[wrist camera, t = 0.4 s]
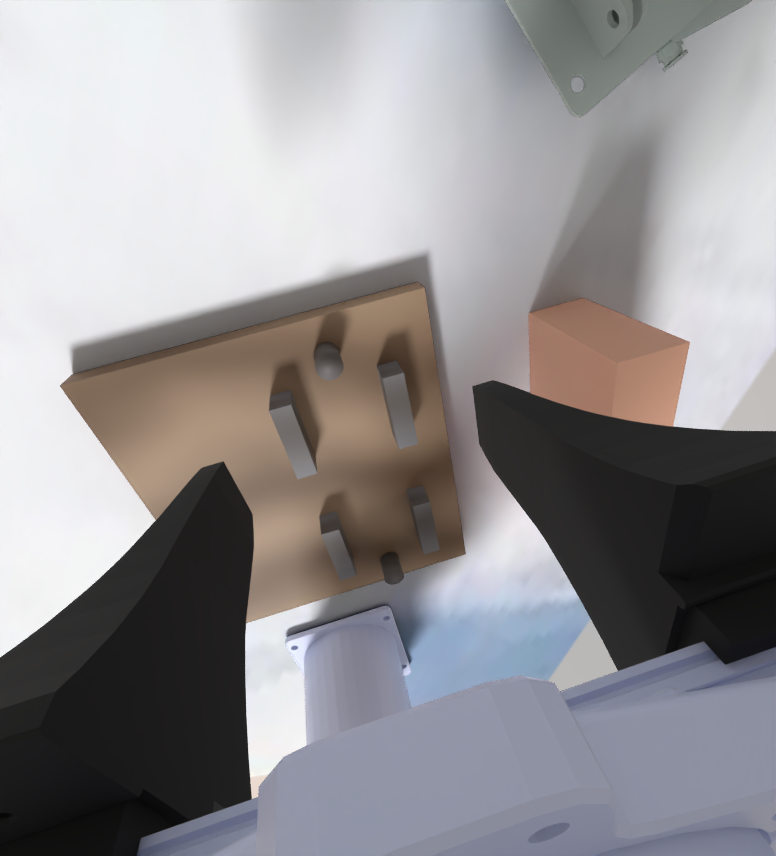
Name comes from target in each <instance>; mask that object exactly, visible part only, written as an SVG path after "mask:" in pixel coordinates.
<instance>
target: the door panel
mask: <svg viewBox="0 0 776 856" xmlns="http://www.w3.org/2000/svg"><path fill="white" fill-rule="evenodd" d="M689 344H690V342H688V341H686V340H683V339H681V338H679V337H676V336H674V335H671V334H669V333H667V332H664V331H662V330H659V329H657V328H654V327H652V326H650V325H647V324H645V323H642V322H640V321H637V320H635V319H633V318H630V317H628V316H625V315H623V314H621V313H618V312H616V311H613V310H611V309H608V308H606V307H604V306H601V305H599V304H596V303H594V302H591V301H589V300H587V299H584V298H581V299H577V300H573V301H570V302H566V303H563V304H559V305H556V306H552V307H548V308H545V309H541V310H538V311H534V312H530V313H529V352H530V393H531V394H534V395H537V396H540V397H542V398H545V399H548V400H551V401H554V402H557V403H560V404H564V405H567V406H570V407H574V408H577V409H581V410H584V411H588V412H592V413H596V414H600V415H605V416H610V417H614V418H619V419H624V420H629V421H635V422H641V423H649V424H656V425H664V426H671V427H673V423H674V418H675V413H676V408H677V403H678V398H679V393H680V389H681V384H682V379H683V374H684V369H685V364H686V359H687V354H688V349H689Z"/></svg>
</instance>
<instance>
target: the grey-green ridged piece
mask: <svg viewBox="0 0 776 856" xmlns="http://www.w3.org/2000/svg"><path fill="white" fill-rule="evenodd" d="M751 1H752V0H505V2H506V3H507V5H508V7H509V9H510V10H511V12H512V14H513V15H514V17H515V19H516V21H517V22H518V24H519V26H520V27H521V29H522V31H523V33H524V34H525V36H526V38H527V39H528V41H529V43H530V45H531V46H532V48H533V50H534V52H535V53H536V55H537V57H538V58H539V60H540V62H541V64H542V65H543V67H544V69H545V70H546V72H547V74H548V76H549V77H550V79H551V81H552V83H553V84H554V86H555V88H556V89H557V91H558V93H559V95H560V96H561V98H562V100H563V101H564V103H565V105H566V107H567V108H568V110H569V112H570V113H571V114H572V115H573V116H574V117H581V116H583V115H585V114H586V113H587V112H588V111H590V110H591V109H592V108H593V107H594V106H595V105H596V104H597V103H599V102H600V101H601V100H602V99H603V98H604V97H605V96H606V95H608V94H609V93H610V92H611V91H612V90H613V89H614V88H616V87H617V86H618V85H619V84H620V83H621V82H622V81H623V80H625V79H626V78H627V77H628V76H629V75H630V74H631V73H633V72H634V71H635V70H636V69H637V68H638V67H639V66H640V65H642V64H643V63H644V62H645V61H646V60H647V59H648V58H649V57H651V56H652V55H653V54H654V53H655V52H656V51H657V52H658V53H657V54H656V57H657V59H658V61H659V63H661V62H663V64H664V66H666V65H667V64H668V65H667V66H666V67H665V68H664V69H663V71H664V72H665V71H666V70H667V69H669V68H670V67H671V66H673V65H674V64H675V63H676V62H677V61H679V60H680V59H681V58H682V57H683V56H684V55H685V54H686V53H688V52H687V50H685V51H684V52H683V49H682V47H681V45H682V44H683V41H682V39H683V38H685V37H687V36H689V35H691V34H693V33H695V32H696V31H698V30H700V29H702V28H704V27H706V26H708V25H709V24H711V23H713V22H715V21H717V20H719V19H721V18H722V17H724V16H726V15H728V14H730V13H732V12H734V11H735V10H737V9H739V8H741V7H743V6H745V5H747V4H748V3H749V2H751ZM681 52H682V53H681ZM680 53H681V54H680ZM574 77H580V78H581V79H582V80H583V83H584V87H583V90H582V91H581V92H580V93H575V92H574V91H573V90H572V89H571V85H570V84H571V80H572V78H574Z"/></svg>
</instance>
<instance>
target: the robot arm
mask: <svg viewBox="0 0 776 856" xmlns="http://www.w3.org/2000/svg"><path fill="white" fill-rule="evenodd" d="M473 395H474V403H475V411H476V419H477V428H478V436H479V444H480V446H481V448H482V450H483V452H484V454H485V455H486V457H487V459H488V461H489V463H490V464H491V466H492V468H493V470H494V471H495V473H496V474H497V475H498V477H499V478H500V479H501V481H502V482H503V483H504V485H505V486H506V487H507V489H508V490H509V491H510V493H511V494H512V495H513V497H514V498H515V499H516V501H517V502H518V503H519V504H520V506H521V507H522V508H523V510H524V511H525V512H526V514H527V515H528V516H529V518H530V519H531V520H532V522H533V523H534V524H535V526H536V527H537V528H538V530H539V531H540V533H541V534H542V536H543V537H544V538H545V540H546V542H547V543H548V545H549V547H550V548H551V550H552V552H553V553H554V555H555V557H556V558H557V560H558V562H559V563H560V565H561V567H562V568H563V570H564V572H565V574H566V575H567V577H568V579H569V581H570V582H571V584H572V586H573V588H574V589H575V591H576V593H577V595H578V596H579V598H580V600H581V602H582V603H583V605H584V607H585V609H586V611H587V613H588V614H589V616H590V618H591V620H592V622H593V624H594V625H595V627H596V629H597V631H598V633H599V635H600V637H601V638H602V640H603V642H604V644H605V646H606V648H607V650H608V652H609V654H610V656H611V658H612V660H613V662H614V664H615V666H616V668H617V670H618V671H617V672H614V673H611V674H608V675H606V676H603V677H600V678H597V679H594V680H591V681H588V682H586V683H583V684H580V685H577V686H574V687H571V688H568V689H566V690H563V691H559V690H558V688H557V686H556V685H555V684H554V683H552V682H549V681H546V680H542V679H537V678H531V677H525V676H515V677H510V678H505V679H500V680H495V681H490V682H485V683H483V684H480V685H477V686H474V687H471V688H468V689H465V690H462V691H459V692H456V693H454V694H451V695H448V696H445V697H442V698H439V699H436V700H433V701H430V702H427V703H425V704H422V705H419V706H416V707H413V708H411V704H410V700H409V695H408V691H407V687H406V683H405V678H404V676H406V675H409V674H410V673H411V667H410V664H409V661H408V658H407V655H406V652H405V649H404V646H403V643H402V640H401V637H400V635H399V632H398V629H397V626H396V623H395V620H394V617H393V614H392V611H391V608H390V607H389V606H382V607H379V608H375V609H372V610H369V611H366V612H363V613H360V614H357V615H354V616H350V617H347V618H344V619H341V620H338V621H335V622H332V623H328V624H325V625H322V626H319V627H316V628H313V629H310V630H306V631H303V632H300V633H297V634H294V635H291V636H288V637H287V638H286V640H285V645H286V647H287V649H288V650H289V652H290V654H291V655H292V657H293V659H294V660H295V662H296V663H297V665H298V667H299V668H300V670H301V671H302V673H303V675H304V685H305V712H306V740H307V746H305V747H303V748H301V749H299V750H297V751H295V752H293V753H291V754H289V755H287V756H285V757H283V759H282V760H281V761H280V762H279V763H278V764H277V766H276V767H275V768H274V769H273V770H272V771H271V773H270V774H269V775H268V776H267V777H266V779H265V780H264V781H263V782H262V783H261V785H260V786H259V794H258V795H259V796H258V797H257V798H254V799H252V797H251V784H250V772H249V758H248V739H247V720H246V688H245V631H246V617H247V608H248V599H249V590H250V581H251V572H252V562H253V552H254V528H253V514H252V512H251V510H250V508H249V507H248V505H247V503H246V501H245V499H244V498H243V496H242V494H241V492H240V490H239V488H238V487H237V485H236V483H235V481H234V479H233V478H232V476H231V474H230V472H229V470H228V468H227V467H226V465H225V463H224V461H222V462H219V463H216V464H212V465H209V466H206V467H202V468H201V469H200V470H199V471H198V472H197V473H196V474H195V475H194V476H193V477H192V478H191V480H190V481H189V482H188V483H187V484H186V485H185V487H184V488H183V489H182V490H181V491H180V493H179V494H178V495H177V496H176V497H175V499H174V500H173V501H172V502H171V503H170V504H169V506H168V507H167V508H166V509H165V510H164V512H163V513H162V514H161V515H160V516H159V518H158V519H157V520H156V521H155V522H154V523H153V524H152V525H151V526H150V528H149V529H148V530H147V531H146V532H145V533H144V534H143V535H142V536H141V537H140V538H139V540H138V541H137V542H136V543H135V544H134V545H133V546H132V547H131V548H130V549H129V550H128V551H127V552H126V554H125V555H124V556H123V557H122V558H121V559H120V560H119V561H118V562H116V563H115V564H114V565H113V566H112V567H111V568H110V569H109V570H108V571H107V572H106V573H105V574H104V575H103V576H102V577H101V578H100V579H98V580H97V581H96V582H95V583H94V584H93V585H92V586H91V587H90V588H89V589H87V590H86V591H85V592H84V593H83V594H81V595H80V596H79V597H78V598H77V599H75V600H74V601H73V602H72V603H71V604H69V605H68V606H67V607H66V608H65V609H63V610H62V611H61V612H60V613H58V614H57V615H56V616H55V617H54V618H52V619H51V620H50V621H49V622H48V623H46V624H45V625H44V626H42V627H41V628H40V629H38V630H37V631H36V632H34V633H33V634H32V635H30V636H29V637H28V638H27V639H25V640H24V641H23V642H21V643H20V644H18V645H17V646H16V647H14V648H13V649H11V650H10V651H9V652H7V653H6V654H5V655H3V656H2V657H0V856H776V431H724V430H707V429H692V428H682V427H671V426H664V425H656V424H649V423H641V422H635V421H629V420H624V419H619V418H614V417H610V416H605V415H600V414H596V413H592V412H588V411H584V410H581V409H577V408H574V407H570V406H567V405H564V404H560V403H557V402H554V401H551V400H548V399H545V398H542V397H540V396H537V395H534V394H531V393H528V392H526V391H523V390H520V389H518V388H515V387H512V386H509V385H507V384H504V383H501V382H497V381H494V380H492V381H489V382H486V383H482V384H479V385H476V386H473Z"/></svg>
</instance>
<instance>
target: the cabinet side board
mask: <svg viewBox="0 0 776 856" xmlns="http://www.w3.org/2000/svg"><path fill="white" fill-rule="evenodd" d="M60 387H61V388H62V389H63V391H64V392H65V394H66V395H67V396H68V398H69V399H70V401H71V402H72V403H73V405H74V406H75V408H76V409H77V410H78V412H79V413H80V415H81V416H82V417H83V419H84V420H85V422H86V423H87V424H88V426H89V427H90V429H91V430H92V431H93V433H94V434H95V436H96V437H97V438H98V440H99V441H100V443H101V444H102V445H103V447H104V448H105V450H106V451H107V452H108V454H109V455H110V457H111V458H112V459H113V461H114V462H115V464H116V465H117V466H118V468H119V469H120V471H121V472H122V473H123V475H124V476H125V478H126V479H127V480H128V482H129V483H130V485H131V486H132V487H133V489H134V490H135V492H136V493H137V494H138V496H139V497H140V499H141V500H142V501H143V503H144V504H145V506H146V507H147V508H148V510H149V511H150V513H151V514H152V515H153V517H154V518H155V520H157V519H158V518H159V516H160V515H161V514H162V513H163V512H164V510H165V509H166V508H167V507H168V506H169V504H170V503H171V502H172V501H173V500H174V499H175V497H176V496H177V495H178V494H179V493H180V491H181V490H182V489H183V488H184V487H185V485H186V484H187V483H188V482H189V481H190V480H191V478H192V477H193V476H194V475H195V474H196V473H197V472H198V471H199V470H200V469H201V468H202V467H206V466H209V465H212V464H216V463H219V462H222V461H224V463H225V465H226V467H227V468H228V470H229V472H230V474H231V476H232V478H233V479H234V481H235V483H236V485H237V487H238V488H239V490H240V492H241V494H242V496H243V498H244V499H245V501H246V503H247V505H248V507H249V508H250V510H251V512H252V514H253V528H254V552H253V562H252V572H251V581H250V590H249V599H248V608H247V617H246V623H248V622H252V621H255V620H258V619H261V618H264V617H267V616H271V615H274V614H277V613H280V612H283V611H286V610H290V609H293V608H296V607H299V606H302V605H306V604H309V603H312V602H315V601H318V600H321V599H325V598H328V597H331V596H334V595H337V594H340V593H344V592H347V591H350V590H353V589H356V588H360V587H363V586H366V585H369V584H372V583H375V582H379V581H382V580H385V582H386V583H388V584H397V583H399V582H400V581H402V579H403V578H404V573H407V572H410V571H414V570H417V569H420V568H423V567H426V566H429V565H433V564H436V563H439V562H442V561H445V560H448V559H452V558H455V557H458V556H461V555H464V554H466V553H465V546H464V540H463V533H462V527H461V520H460V514H459V507H458V501H457V494H456V488H455V481H454V475H453V468H452V462H451V455H450V449H449V442H448V436H447V429H446V423H445V416H444V410H443V403H442V397H441V390H440V384H439V377H438V371H437V364H436V358H435V351H434V345H433V338H432V332H431V325H430V319H429V312H428V306H427V299H426V293H425V287H423V286H422V285H421V284H420V283H418V282H415V283H412V284H408V285H404V286H400V287H397V288H393V289H389V290H385V291H382V292H378V293H374V294H371V295H367V296H363V297H359V298H356V299H352V300H348V301H344V302H341V303H337V304H333V305H330V306H326V307H322V308H318V309H315V310H311V311H307V312H303V313H300V314H296V315H292V316H288V317H285V318H281V319H277V320H274V321H270V322H266V323H262V324H259V325H255V326H251V327H247V328H244V329H240V330H236V331H233V332H229V333H225V334H221V335H218V336H214V337H210V338H206V339H203V340H199V341H195V342H191V343H188V344H184V345H180V346H177V347H173V348H169V349H165V350H162V351H158V352H154V353H150V354H147V355H143V356H139V357H135V358H132V359H128V360H124V361H121V362H117V363H113V364H109V365H106V366H102V367H98V368H94V369H91V370H87V371H83V372H80V373H76V374H72V375H71V376H70V377H69V378H68V379H67V380H66V381H65V382H64V383H62V384H61V385H60Z"/></svg>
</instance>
